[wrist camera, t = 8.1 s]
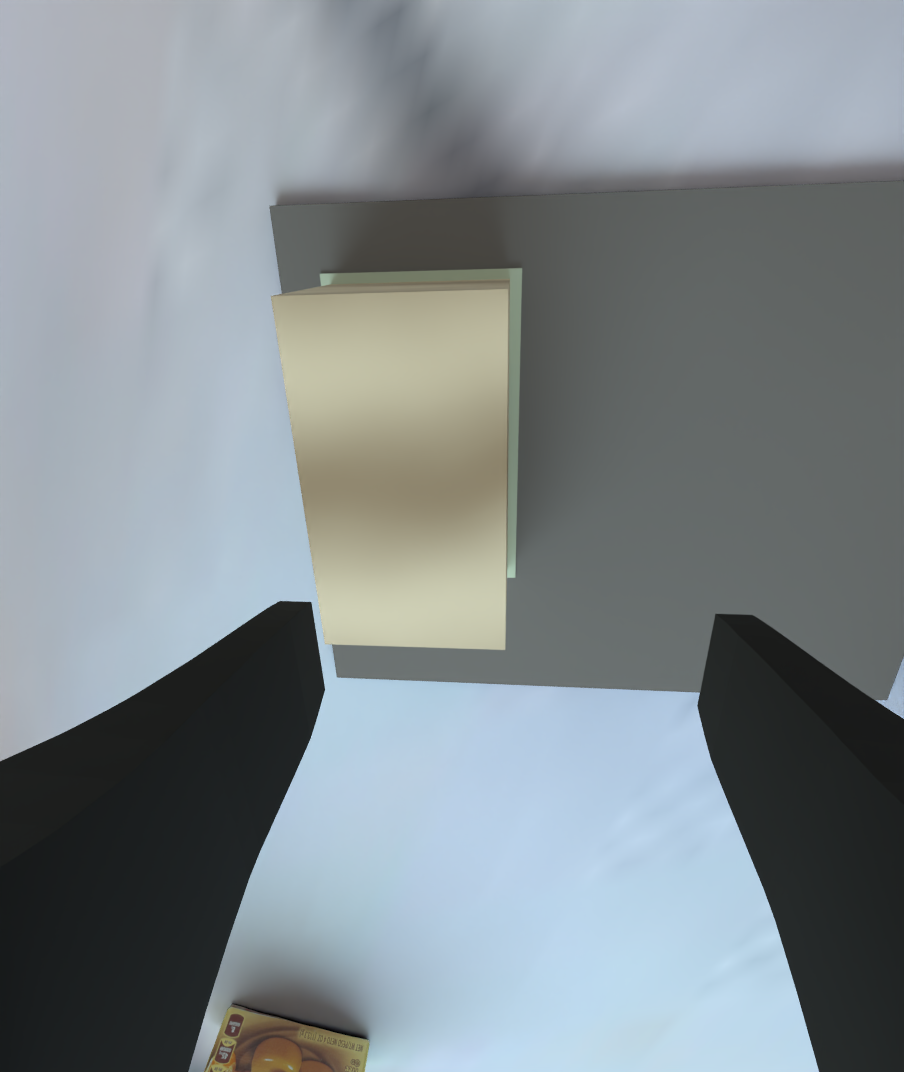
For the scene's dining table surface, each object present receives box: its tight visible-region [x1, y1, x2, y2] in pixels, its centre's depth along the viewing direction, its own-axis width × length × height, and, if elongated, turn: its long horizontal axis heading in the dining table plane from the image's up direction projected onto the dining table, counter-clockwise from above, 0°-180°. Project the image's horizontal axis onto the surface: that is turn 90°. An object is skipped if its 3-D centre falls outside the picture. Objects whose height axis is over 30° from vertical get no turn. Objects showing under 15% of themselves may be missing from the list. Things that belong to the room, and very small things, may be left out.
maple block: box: [271, 279, 510, 650], centre depth 16 cm, size 9×5×4 cm, turn 2°
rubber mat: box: [270, 181, 904, 700], centre depth 18 cm, size 20×16×1 cm
